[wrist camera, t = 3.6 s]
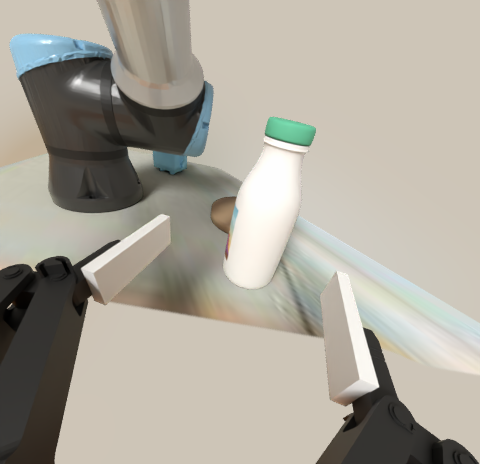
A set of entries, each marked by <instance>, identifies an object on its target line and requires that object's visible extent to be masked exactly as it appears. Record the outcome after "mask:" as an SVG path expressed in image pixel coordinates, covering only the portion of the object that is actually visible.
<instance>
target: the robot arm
mask: <svg viewBox="0 0 480 464" xmlns="http://www.w3.org/2000/svg"><path fill="white" fill-rule="evenodd" d="M97 2H98V4H99V7H100V10H101V12H102V15H103V17H104V20H105V23H106V25H107V28H108V31H109V33H110V36H111V38H112V41H113V44H114V46H115V49H116V51H115V53H114V54H113V53H112V51H111V50H110V49H108V48H107V47H104V46H102V45H99V44H95V43H92V42H88V41H82V40H75V39H71V38H67V37H61V36H53V35H44V34H20V35H16V36H14V37H13V38H12V39H11V42H10V50H11V53H12V57H13V60H14V63H15V66H16V70H17V77H18V79H19V81H20V82H21V85H22V87H23V89H24V92H25V95H26V97H27V100H28V102H29V105H30V107H31V110H32V112H33V115H34V118H35V120H36V123H37V125H38V128H39V130H40V133H41V135H42V138H43V141H44V143H45V146H46V148H47V151H48V154H49V182H48V189H49V192H50V195H51V197H52V200H53V202H54V203H55V204H56V205H57V206H59V207H61V208H64V209H67V210H71V211H77V212H106V211H113V210H118V209H122V208H125V207H128V206H131V205H133V204H135V203H137V202H138V201H139V200H140V199H141V198H142V196H143V189H142V184H141V181H140V180H139V178H138V176H137V173H136V171H135V169H134V167H133V165H132V163H131V161H130V159H129V156H128V150H127V147H134V148H140V149H146V150H152V151H157V152H163V153H168V154H174V155H179V156H192V157H197V156H200V155H201V154H202V153H203V151H204V149H205V145H206V140H207V135H208V128H209V127H208V126H209V122H210V117H211V111H212V103H213V86H212V85H211V84H209V83H208V82H207V81H204V76H203V70H202V67H201V65H200V63H199V61H198V60H197V58H196V57H195V56H194V55H193V54H192V52H191V33H190V12H189V11H190V10H189V0H97ZM170 244H171V232H170V216H167V215H164V214H160V215H159V216H157V217H156V218H154V219H153V220H152V221H150V222H149V223H147V224H146V225H144V226H143V227H141V228H140V229H138V230H137V231H135V232H134V233H132V234H131V235H129V236H128V237H126V238H125V239H123V240H122V241H120V240H116V241H113V242H110V243H108V244H106V245H105V246H103V247H102V248H101V249H99V250H97V251H96V252H95V253H92V254H91V255H89V256H88V257H86V258H85V259H83V260H82V261H80V262H78V263H77V264H75V265H74V266H72V264H71V262H70V260H69V259H68V258H67V257H64V256H56V257H51V258H48V259H45V260H43V261H41V262H40V263H38V264H37V265H36V267H35V268H36V270H37V272H35V271H33V270H32V268H31V267H30V266H29V265H26V264H17V265H13V266H9V267H7V268H4V269H2V270H0V464H55V463H54V459H55V452H56V447H57V443H58V438H59V433H60V429H61V424H62V420H63V415H64V410H65V406H66V401H67V396H68V392H69V387H70V382H71V378H72V374H73V369H74V364H75V360H76V355H77V350H78V346H79V341H80V337H81V332H82V328H83V323H84V318H85V314H86V309H87V305H88V300H87V298H89V297H90V296H91V295H92V296H93V298H94V300H95V301H96V302H99V303H101V304H104V305H106V304H107V303H109V302H110V301H111V300H112V299H113V298H114V297H115V296H116V295H117V294H118V293H119V292H120V291H121V290H122V289H123V288H124V287H125V286H126V285H128V284H129V283H130V282H131V281H132V280H133V279H134V278H135V277H136V276H137V275H138V274H139V273H140V272H141V271H142V270H143V269H144V268H145V267H147V266H148V265H149V264H150V263H151V262H152V261H153V260H154V259H155V258H156V257H157V256H158V255H159V254H160V253H161V252H162V251H163V250H164V249H165V248H167V247H168V246H169V245H170ZM320 298H321V309H322V320H323V331H324V341H325V352H326V363H327V373H328V385H329V395H330V400H332V401H334V402H336V403H339V404H341V405H344V406H347V405H349V404H351V403H352V404H353V411H354V412H353V413H351V414H349V415H347V416H346V417H344V418H343V419H344V421H346V422H345V423H344V425H343V426H342V427H341V429H340V430H339V432H338V433H337V434H336V436H335V437H334V439H333V440H332V441H331V443H330V444H329V446H328V447H327V448H326V450H325V451H324V453H323V454H322V455H321V457H320V458H319V460H318V461H317V463H316V464H479V463H478V462H477V460H476V459H475V458H474V456H473V455H472V454H471V453H470V452H469V451H468V450H467V449H465V447H463V446H462V445H461V444H459V443H457V442H456V441H454V440H450V439H446V440H442V441H441V440H439V439H438V438H437V437H435V436H434V435H433V434H431V433H430V432H429V431H427V430H426V429H424V428H423V427H422V426H420V425H419V424H418V423H417V422H416V421H415V420H414V418H413V416H412V414H411V413H410V411H409V410H408V409H407V407H406V406H405V405H404V404H403V403H402V402H400V401H399V399H398V397H397V394H396V391H395V388H394V385H393V382H392V379H391V376H390V374H389V370H388V368H387V365H386V362H385V359H384V355H383V353H382V349H381V346H380V343H379V341H378V339H377V338H376V336H375V335H374V333H373V332H372V330H369V329H366V328H363V327H362V323H361V320H360V316H359V313H358V309H357V306H356V302H355V298H354V295H353V291H352V288H351V284H350V281H349V277H348V274H345V273H342V272H339V271H336V272H335V274H334V275H333V277H332V278H331V280H330V281H329V283H328V284H327V286H326V287H325V289H324V290H323V292H322V293H321V295H320ZM11 303H12V305H11V307H9V308H8V306H9V305H10V304H11ZM7 308H8V309H7Z"/></svg>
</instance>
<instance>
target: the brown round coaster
mask: <svg viewBox="0 0 480 464" xmlns="http://www.w3.org/2000/svg"><path fill="white" fill-rule="evenodd" d="M236 198H237V197H224V198H221V199H218V200H216V201H215V202H214V203H213V205H212V210H211V219H212V222H213V223H214V224H215V225H216V226H217V227H218V228H219V229H220V230H222V231H224V232H226V233H228V234H229V230H230V225H231V220H232V215H233V210H234V206H235V202H236Z"/></svg>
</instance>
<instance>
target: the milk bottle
mask: <svg viewBox="0 0 480 464" xmlns="http://www.w3.org/2000/svg"><path fill="white" fill-rule="evenodd" d="M315 133H316V128H315V127H313V126H310V125H306V124H303V123H299V122H295V121H291V120H287V119H282V118H277V117H270V118H269V119H268V122H267V125H266V130H265V137H264V139H263V141H264V148H263V151H262V154H261V156H260V157H259V159H258V161H257V163H256V165H255V166H254V168H253V169H252V170H251V172H250V173H249V174H248V176H247V177H246V178H245V180H244V182H243V183H242V185H241V187H240V189H239V192H238V195H237V198H236V202H235V206H234V210H233V215H232V220H231V225H230V230H229V235H228V240H227V245H226V250H225V255H224V261H223V269H224V272H225V274H226V276H227V278H228V279H229V280H230V281H231V282H232V283H234V284H235V285H237V286H239V287H242V288H245V289H259V288H262V287H264V286H266V285H267V284H268V283H269V282H270V281H271V279H272V277H273V275H274V273H275V271H276V268H277V266H278V264H279V261H280V259H281V257H282V254H283V252H284V250H285V247H286V245H287V243H288V240H289V238H290V235H291V233H292V231H293V228H294V226H295V223H296V220H297V217H298V215H299V210H300V206H301V199H302V192H301V168H302V161H303V158H304V155H305V153H307V152H308V151H309V146H310V145H311V143H312V141H313V139H314V136H315Z"/></svg>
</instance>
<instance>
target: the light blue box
mask: <svg viewBox="0 0 480 464" xmlns="http://www.w3.org/2000/svg"><path fill="white" fill-rule="evenodd" d="M153 159H154V167H157V168H160V171H165V170H167V171H170V174H175V173H176V172H179V171H182V170H184V169H187V156H179V155H174V154H168V153H163V152H157V151H153Z"/></svg>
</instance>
